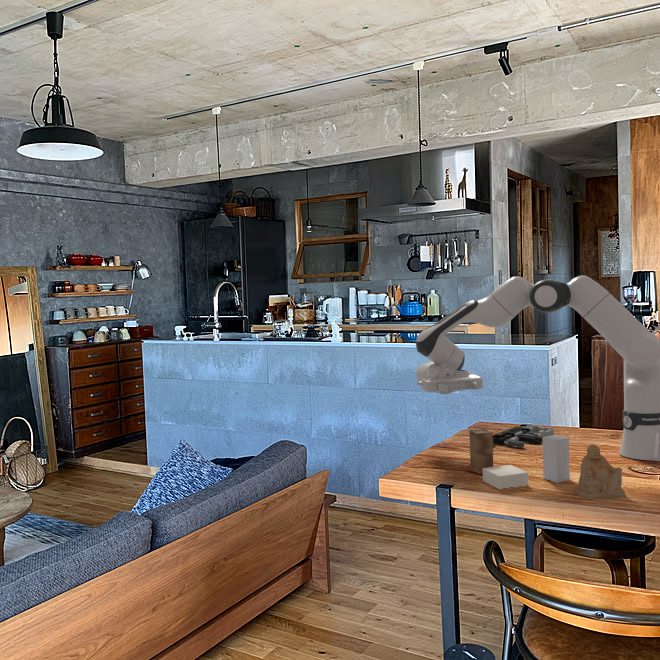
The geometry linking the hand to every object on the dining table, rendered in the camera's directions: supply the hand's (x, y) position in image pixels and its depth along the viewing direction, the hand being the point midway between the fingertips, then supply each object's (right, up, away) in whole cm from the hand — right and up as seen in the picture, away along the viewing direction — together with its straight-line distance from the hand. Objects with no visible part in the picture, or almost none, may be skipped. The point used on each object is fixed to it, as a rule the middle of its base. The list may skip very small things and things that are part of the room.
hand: (462, 387), depth 210 cm
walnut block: (+4, -24, -9) cm, 26 cm away
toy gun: (+25, -22, +25) cm, 41 cm away
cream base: (+7, -25, -23) cm, 35 cm away
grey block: (+22, -24, -21) cm, 39 cm away
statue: (+29, -25, -35) cm, 52 cm away
